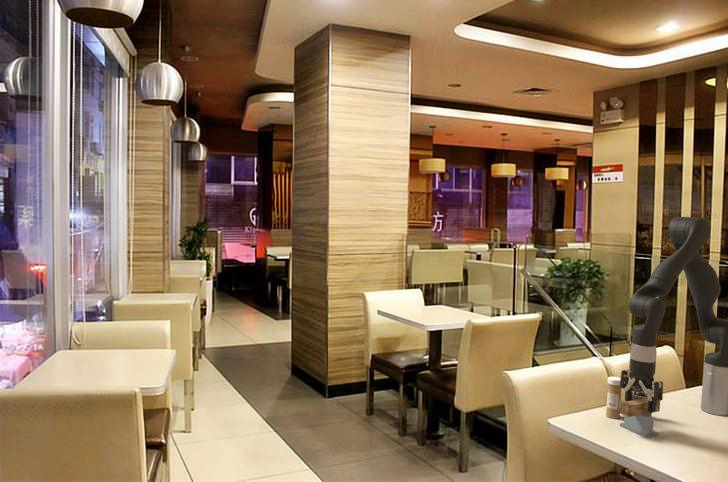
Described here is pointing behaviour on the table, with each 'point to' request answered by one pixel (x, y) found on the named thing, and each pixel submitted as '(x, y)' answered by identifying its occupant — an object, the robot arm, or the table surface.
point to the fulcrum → (640, 425)
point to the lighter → (639, 395)
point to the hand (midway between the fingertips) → (639, 407)
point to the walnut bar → (637, 407)
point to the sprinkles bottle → (613, 397)
